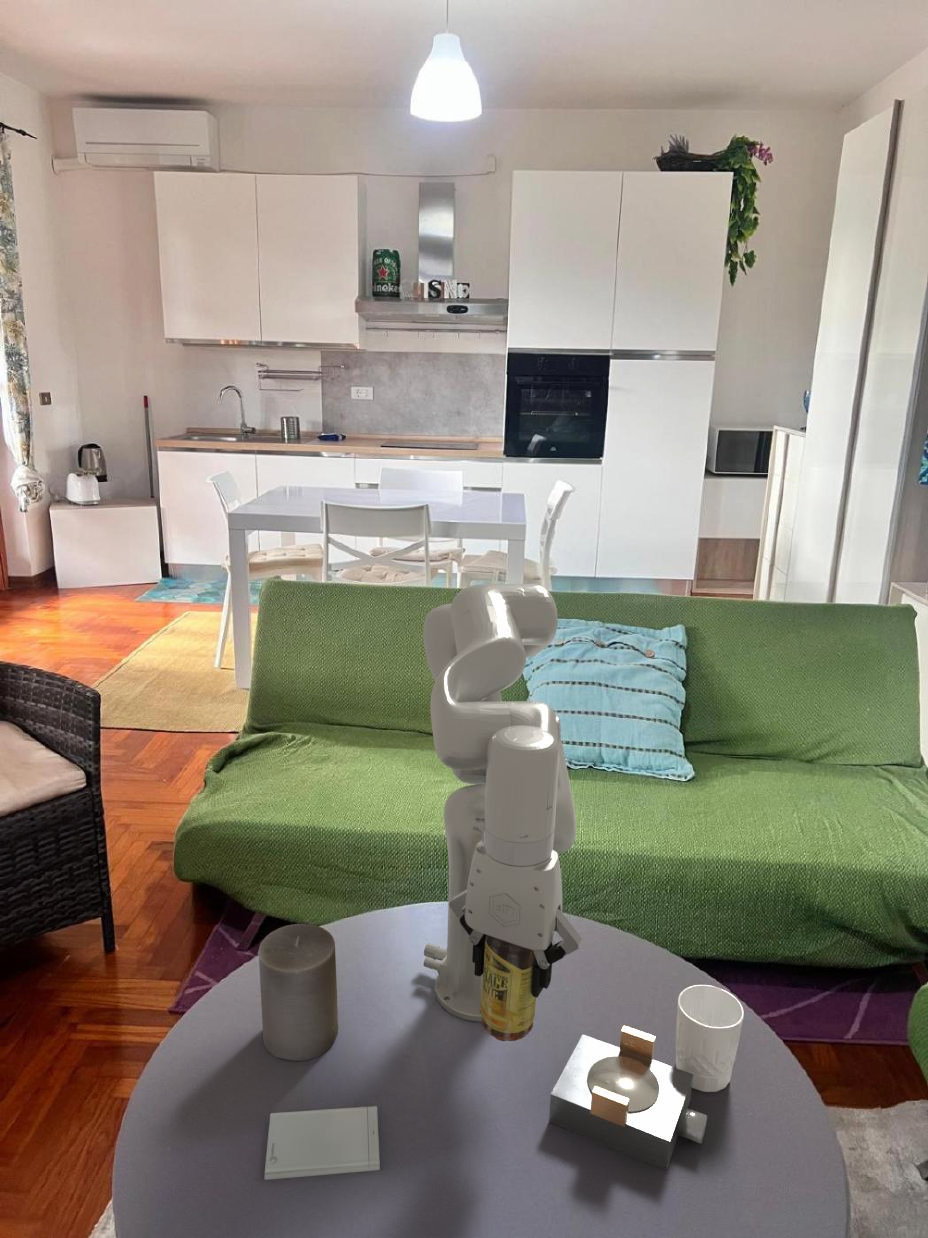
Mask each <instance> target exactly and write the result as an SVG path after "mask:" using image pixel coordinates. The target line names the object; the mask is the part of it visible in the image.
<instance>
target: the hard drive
mask: <svg viewBox="0 0 928 1238" xmlns="http://www.w3.org/2000/svg"><path fill="white" fill-rule="evenodd" d="M378 1116H379V1115H378V1106H377V1105H373V1106H359V1107H357V1106H356V1107H344V1108H328V1109H327V1108H325V1109H313V1110H300V1111H284V1112H270V1115H269V1122H268V1123H269V1124H268V1134H267V1142H266V1143H267V1144H266V1154H265V1155H266V1156H265V1165H264V1176H263V1177H264V1180H278V1179H289V1178H300V1177H303V1178H304V1177H312V1176H324V1175H335V1174H347V1173H348V1174H349V1173H358V1172H370V1171H371V1172H372V1171H380V1170H381V1168H380V1167H381V1166H380V1165H381V1162H380V1141H379V1119H378V1118H379V1117H378Z"/></svg>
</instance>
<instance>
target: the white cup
mask: <svg viewBox="0 0 928 1238" xmlns="http://www.w3.org/2000/svg"><path fill="white" fill-rule="evenodd" d="M744 1010H745V1009H744V1008H743V1005H742V1004H741V1002H740V1000H739V999H737V997H735V996H734V995H733V994H732V993H730V992H729V991H726V990H725V989H722V988H721V987H717V986H713V985H708V984H695V985H691V986H689V987H686V988H684V989H683V990H682V991H681V992H680V993H679V995H678V998H677V1012H676V1013H677V1015H676V1029H675V1032H676V1033H675V1052H676V1055H675V1068H677V1069H680V1070H683V1071H685V1072H688V1073H691V1074H693V1081H692V1089H695V1090H697V1091H701V1092H704V1093H717V1092H719V1091H721V1090H723V1089H726V1088H727V1086H728V1084H729V1083H730V1081H731V1078H732V1072H733V1068H734V1063H735V1061H736V1057H737V1052H738V1048H739V1042H740V1039H741V1038H740V1036H741V1031H742V1026H743V1021H744V1015H745V1013H744V1012H745V1011H744Z"/></svg>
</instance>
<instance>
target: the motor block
mask: <svg viewBox="0 0 928 1238" xmlns="http://www.w3.org/2000/svg"><path fill="white" fill-rule="evenodd" d="M619 1041H620V1044H619V1046H615V1045H613V1044H612V1043H608V1042H605V1041H602V1040H599V1039H596V1038H594V1037H592V1036H588V1035H587V1034H582V1035H581V1036H580V1039H579V1041H578V1043H577V1044H576V1046H575V1048H574V1050H573V1052H572V1054H571V1056H570V1057H569V1059H568V1061H567V1063H566V1065H565V1066H564V1069H563V1071H562V1073H561V1074H560V1076H559V1078H558V1080H557V1081H556V1084H555V1085H554V1087H553V1089H552V1090H551V1092H550V1099H549V1100H550V1101H549V1115H548V1122H549V1123H551V1124H553V1125H556V1126H558V1127H561V1128H563V1129H566V1130H567V1131H568V1130H569V1131H570V1132H573V1133H575V1134H578V1135H580V1136H582V1137H585V1138H588V1139H590V1140H593V1141H595V1142H597V1143H600V1144H602V1145H604V1146H606V1147H609V1148H612V1149H614V1150H617V1151H619V1152H621V1153H623V1154H626V1155H629V1156H631V1157H634V1158H636V1159H638V1160H641V1161H643V1162H646V1163H649V1164H651V1165H653V1166H655V1167H658V1168H660V1169H663V1170H665V1171H667V1170H668V1167H669V1165H670V1162H671V1158H672V1156H673V1153H674V1150H675V1146H676V1144H677V1141H678V1138H679V1136H681V1137H682V1138H685V1139H688V1140H690V1141H692V1142H696V1143H699V1144H702V1142H703V1140H704V1136H705V1132H706V1128H707V1121H708V1115H707V1114H704V1113H703V1112H699V1111H696V1110H694V1109H692V1108H689V1105H690V1103H691V1096H692V1089H693V1088H692V1081H693V1074H691V1073H688V1072H685V1071H683V1070H680V1069H677V1068H676V1067H674V1066H672V1065H668V1064H666V1063H663V1062H660V1061H659V1060H655V1059H654V1058H655V1057H654V1055H655V1046H656V1035H655V1036H654V1035H652V1034H650V1033H647V1032H644V1031H642V1030H638V1029H635V1028H632V1027H630V1026H626V1025H623V1026H622V1028H621V1032H620V1040H619Z"/></svg>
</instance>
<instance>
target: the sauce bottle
mask: <svg viewBox="0 0 928 1238" xmlns="http://www.w3.org/2000/svg"><path fill="white" fill-rule="evenodd" d="M536 962H537V960H536V957H535V954H534V951H533V950H531V949H527V948H524V947H521V946H518V945H515V944H512V943H509V942H506V941H504V940H501V939H498V938H495V937H492V936H489V935H486V940H485V954H484V967H483V984H482V1000H481V1015H482V1022H481V1024H482V1026H483V1029H484V1031H486V1033H488V1034H489V1035H490V1036H492V1037H493V1038H495V1039H496V1040H498V1041H501V1042H515V1041H518V1040H521V1039H523V1038H525V1037H526V1036H527V1035H529V1034H530V1032H531V1031H532V1029H533V1027H534V1020H535V1014H536V1004H537V998H536V997H533V996H532V994H531V988H532V973H533V966H534V965H535V963H536Z"/></svg>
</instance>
